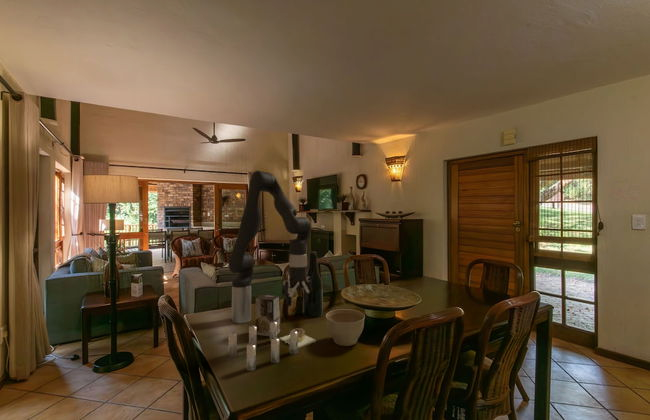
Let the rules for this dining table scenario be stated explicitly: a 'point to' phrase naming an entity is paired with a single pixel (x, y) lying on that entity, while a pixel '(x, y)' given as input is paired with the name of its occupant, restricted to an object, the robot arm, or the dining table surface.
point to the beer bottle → (314, 290)
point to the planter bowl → (345, 326)
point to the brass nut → (300, 334)
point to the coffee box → (267, 313)
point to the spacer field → (253, 344)
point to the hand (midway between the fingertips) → (297, 303)
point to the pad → (300, 343)
